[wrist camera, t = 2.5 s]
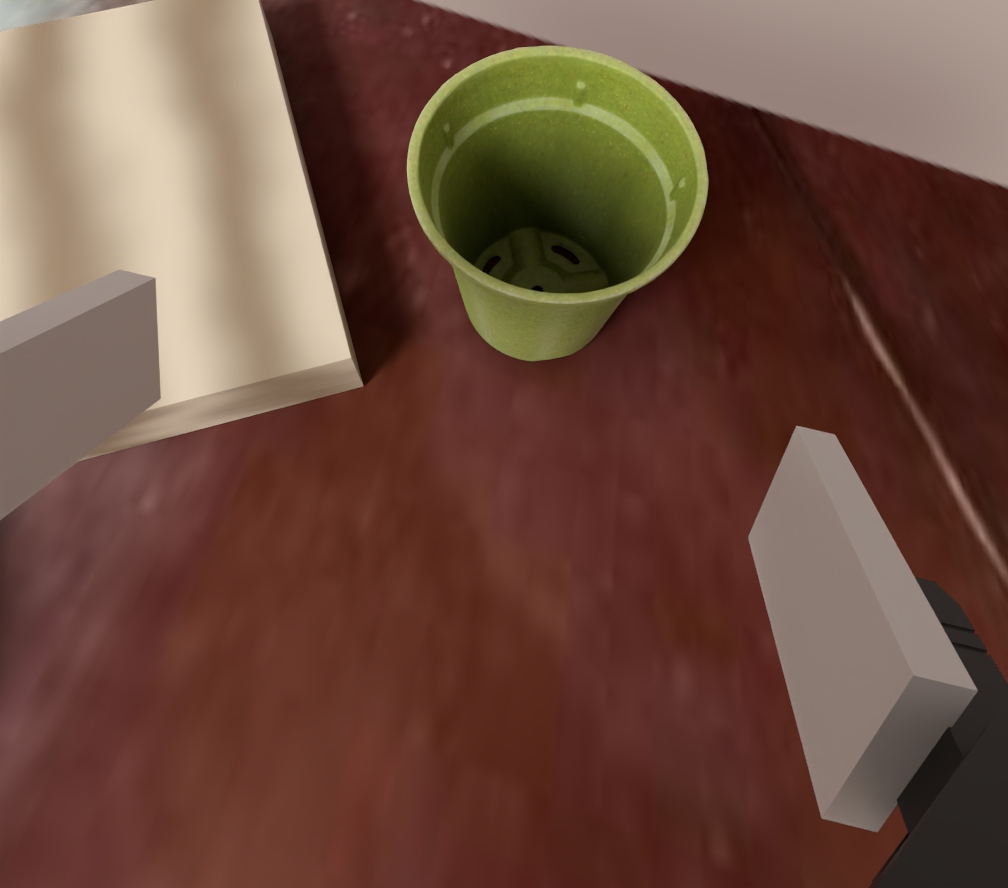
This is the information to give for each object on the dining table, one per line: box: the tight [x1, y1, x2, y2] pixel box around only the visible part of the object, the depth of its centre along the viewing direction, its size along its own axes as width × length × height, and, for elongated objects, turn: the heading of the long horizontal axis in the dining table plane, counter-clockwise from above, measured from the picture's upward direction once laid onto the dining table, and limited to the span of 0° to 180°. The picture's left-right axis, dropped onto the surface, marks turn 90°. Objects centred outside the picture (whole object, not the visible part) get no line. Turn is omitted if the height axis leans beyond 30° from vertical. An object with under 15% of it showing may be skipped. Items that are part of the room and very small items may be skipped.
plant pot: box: [407, 46, 709, 361], centre depth 27 cm, size 9×9×9 cm
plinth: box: [0, 0, 363, 461], centre depth 30 cm, size 18×18×3 cm
